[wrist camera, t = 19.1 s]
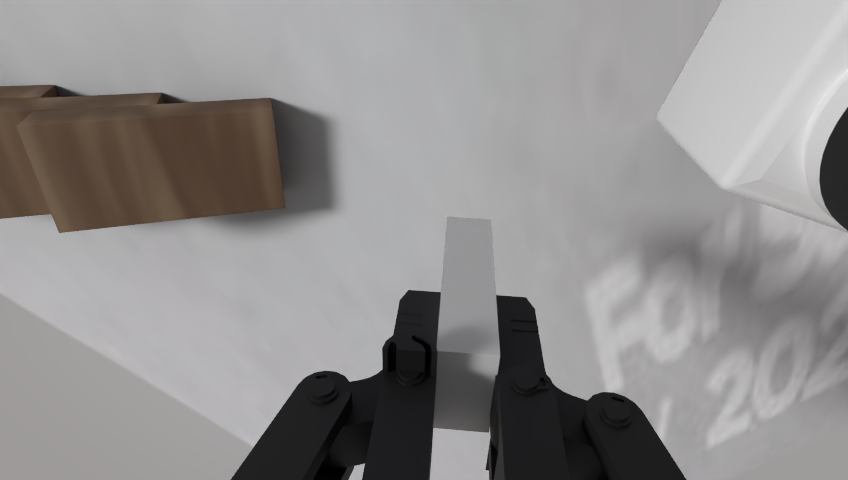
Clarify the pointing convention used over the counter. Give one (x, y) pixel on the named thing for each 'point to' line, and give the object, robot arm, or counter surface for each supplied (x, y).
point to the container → (770, 105)
